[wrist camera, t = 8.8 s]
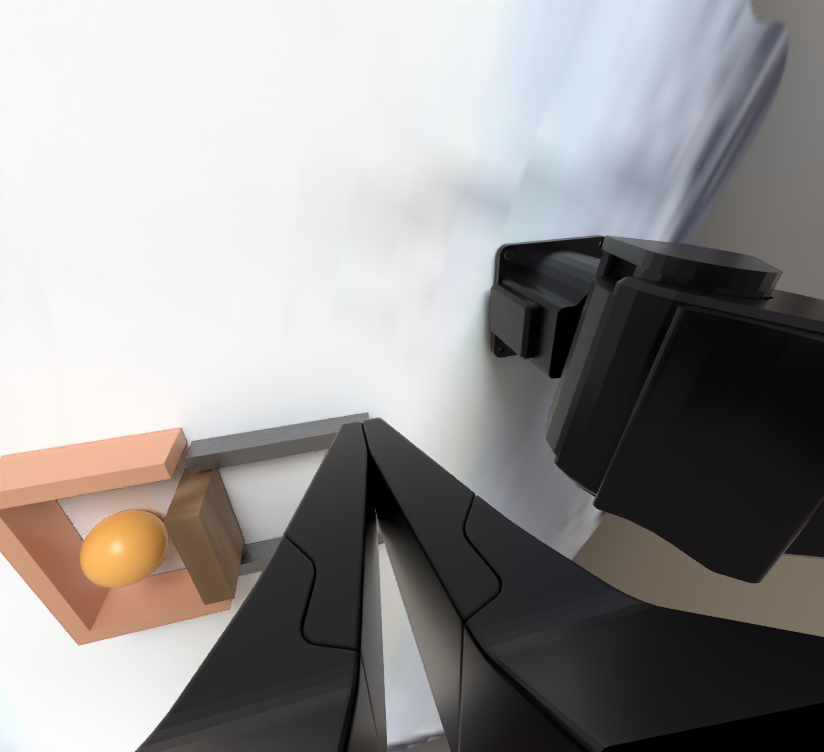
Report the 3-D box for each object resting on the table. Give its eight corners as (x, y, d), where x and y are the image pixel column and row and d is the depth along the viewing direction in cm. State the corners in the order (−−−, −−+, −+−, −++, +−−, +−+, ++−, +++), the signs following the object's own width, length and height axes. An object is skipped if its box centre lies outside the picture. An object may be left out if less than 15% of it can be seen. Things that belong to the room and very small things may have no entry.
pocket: (181, 427, 21) (163, 463, 19) (237, 567, 27) (229, 609, 25) (1, 456, 20) (-44, 499, 17) (101, 597, 26) (78, 645, 23)
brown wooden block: (215, 462, 23) (198, 515, 19) (244, 541, 26) (234, 598, 23) (185, 468, 22) (163, 522, 19) (218, 546, 26) (204, 605, 22)
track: (367, 412, 24) (371, 426, 23) (381, 525, 29) (384, 542, 27) (191, 441, 22) (184, 458, 21) (237, 557, 27) (233, 577, 26)
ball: (50, 536, 20) (130, 486, 23) (84, 583, 22) (154, 532, 25) (88, 568, 19) (169, 510, 22) (122, 617, 20) (192, 557, 23)
